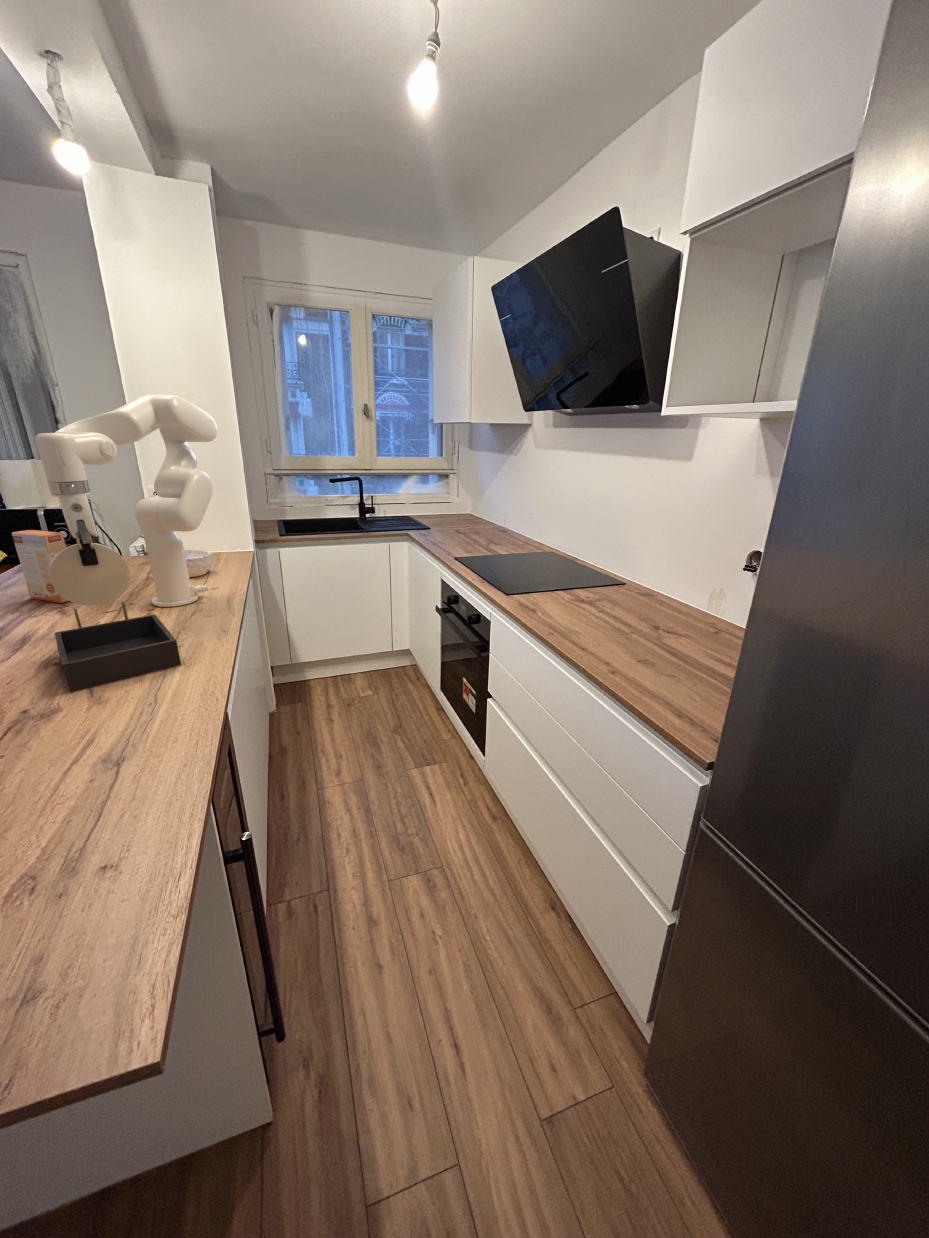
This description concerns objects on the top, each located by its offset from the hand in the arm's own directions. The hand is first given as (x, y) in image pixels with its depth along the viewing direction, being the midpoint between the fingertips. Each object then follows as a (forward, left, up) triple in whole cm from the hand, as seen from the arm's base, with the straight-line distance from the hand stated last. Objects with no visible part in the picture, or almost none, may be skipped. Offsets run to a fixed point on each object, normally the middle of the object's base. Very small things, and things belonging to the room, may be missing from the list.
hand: (90, 563), depth 121 cm
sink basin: (0, +23, -18) cm, 29 cm away
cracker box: (+8, -42, -18) cm, 46 cm away
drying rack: (0, 0, -18) cm, 18 cm away
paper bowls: (-32, -48, -18) cm, 60 cm away
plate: (0, 0, -11) cm, 11 cm away
